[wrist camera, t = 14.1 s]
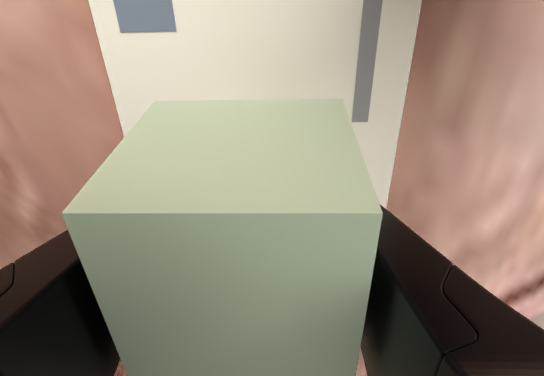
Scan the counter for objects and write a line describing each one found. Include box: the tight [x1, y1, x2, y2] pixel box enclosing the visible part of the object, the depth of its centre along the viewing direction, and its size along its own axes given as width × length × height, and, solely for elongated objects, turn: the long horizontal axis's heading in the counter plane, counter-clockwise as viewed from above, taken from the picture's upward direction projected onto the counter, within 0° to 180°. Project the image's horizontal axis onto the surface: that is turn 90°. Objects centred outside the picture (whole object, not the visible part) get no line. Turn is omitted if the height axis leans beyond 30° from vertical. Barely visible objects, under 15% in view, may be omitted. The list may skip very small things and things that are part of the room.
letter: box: [88, 0, 422, 209], centre depth 12 cm, size 12×9×1 cm
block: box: [61, 99, 383, 376], centre depth 8 cm, size 4×4×4 cm
